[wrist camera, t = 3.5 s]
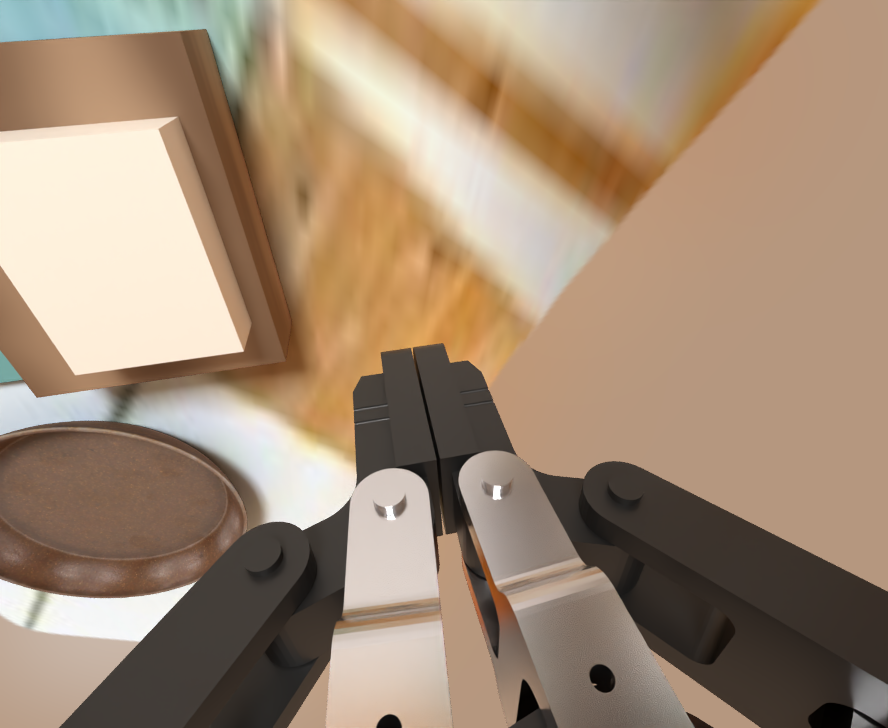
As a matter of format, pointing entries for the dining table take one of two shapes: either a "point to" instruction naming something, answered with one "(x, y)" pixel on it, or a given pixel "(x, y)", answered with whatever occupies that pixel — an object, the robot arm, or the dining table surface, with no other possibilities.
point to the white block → (117, 245)
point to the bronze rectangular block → (214, 153)
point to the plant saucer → (110, 510)
